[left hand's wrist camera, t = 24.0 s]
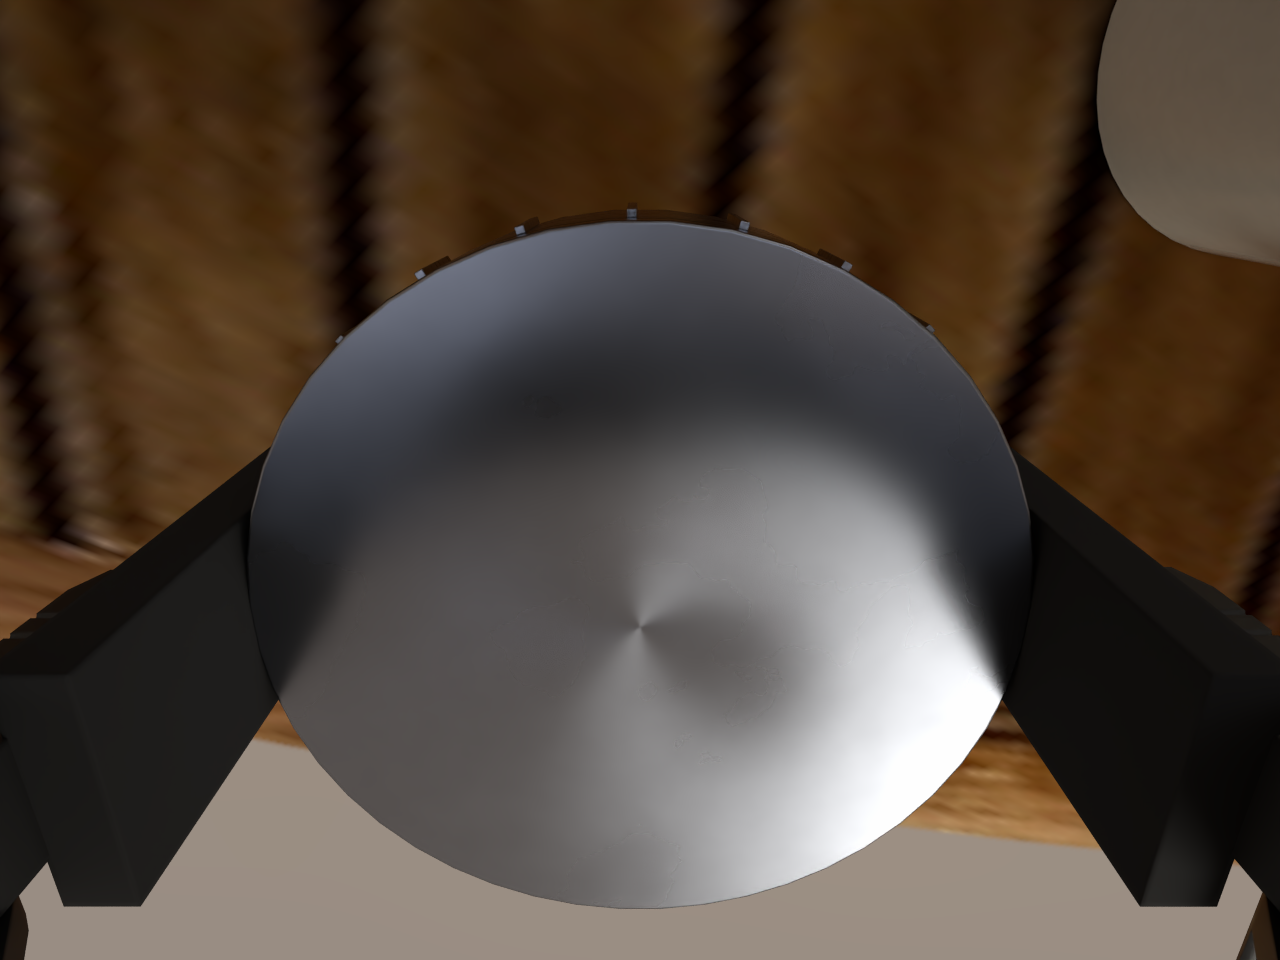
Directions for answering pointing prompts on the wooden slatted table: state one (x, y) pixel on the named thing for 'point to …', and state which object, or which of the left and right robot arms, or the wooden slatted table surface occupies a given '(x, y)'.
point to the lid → (640, 561)
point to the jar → (1196, 120)
